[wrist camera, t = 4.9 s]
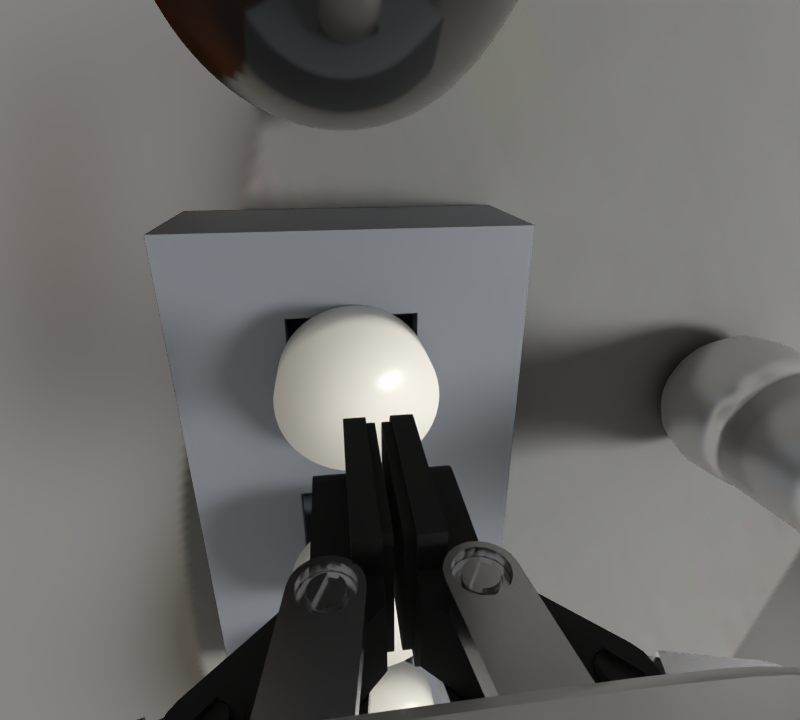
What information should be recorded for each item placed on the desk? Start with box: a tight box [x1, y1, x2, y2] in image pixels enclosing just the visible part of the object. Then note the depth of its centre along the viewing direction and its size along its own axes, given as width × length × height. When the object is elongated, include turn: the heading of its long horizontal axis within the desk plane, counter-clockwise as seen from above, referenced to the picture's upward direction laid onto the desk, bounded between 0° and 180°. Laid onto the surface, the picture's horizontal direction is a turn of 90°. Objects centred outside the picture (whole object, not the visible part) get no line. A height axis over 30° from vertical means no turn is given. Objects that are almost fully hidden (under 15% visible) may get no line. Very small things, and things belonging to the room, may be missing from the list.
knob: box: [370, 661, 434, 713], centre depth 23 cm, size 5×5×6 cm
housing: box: [144, 205, 535, 704], centre depth 23 cm, size 24×12×5 cm, turn 0°
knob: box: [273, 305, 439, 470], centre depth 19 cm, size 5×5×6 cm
